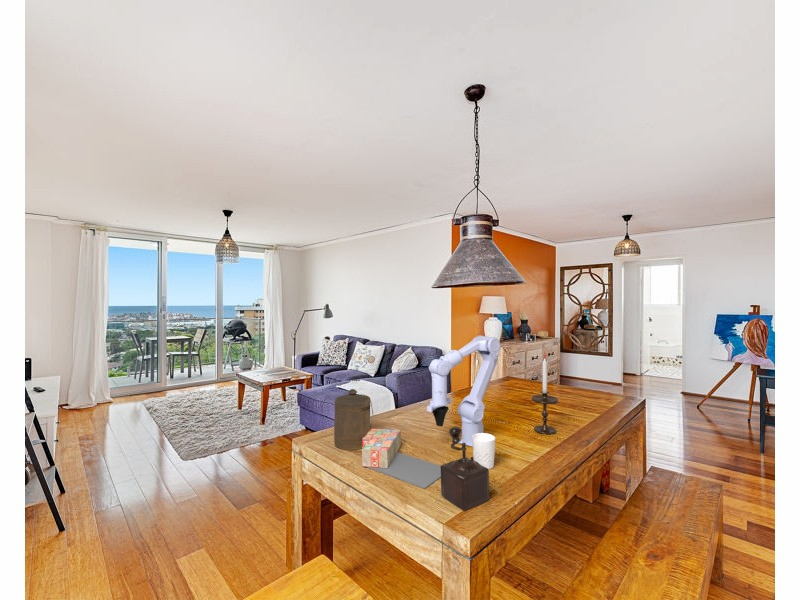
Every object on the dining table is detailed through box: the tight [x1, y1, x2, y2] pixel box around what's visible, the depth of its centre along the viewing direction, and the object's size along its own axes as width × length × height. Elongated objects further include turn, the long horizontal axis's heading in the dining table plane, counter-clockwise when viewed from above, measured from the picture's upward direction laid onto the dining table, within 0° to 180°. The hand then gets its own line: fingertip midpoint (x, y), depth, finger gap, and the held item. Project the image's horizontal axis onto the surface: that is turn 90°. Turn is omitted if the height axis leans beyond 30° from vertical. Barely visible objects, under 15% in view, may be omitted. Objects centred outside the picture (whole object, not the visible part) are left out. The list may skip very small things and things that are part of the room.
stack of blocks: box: [361, 428, 402, 468], centre depth 143 cm, size 21×6×12 cm
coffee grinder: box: [440, 426, 490, 512], centre depth 115 cm, size 16×11×18 cm
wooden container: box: [333, 388, 372, 451], centre depth 155 cm, size 15×15×22 cm
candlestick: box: [531, 352, 559, 436], centre depth 166 cm, size 11×11×35 cm
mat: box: [367, 451, 441, 490], centre depth 131 cm, size 16×24×1 cm, turn 52°
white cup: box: [472, 432, 496, 470], centre depth 134 cm, size 8×8×10 cm
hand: (439, 425), depth 147 cm, fingers closed
